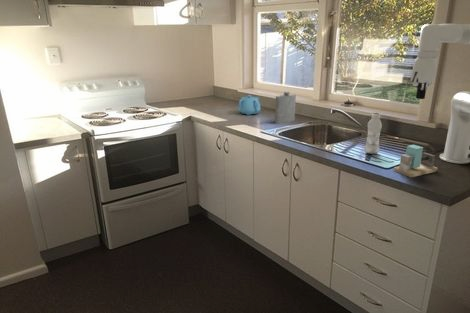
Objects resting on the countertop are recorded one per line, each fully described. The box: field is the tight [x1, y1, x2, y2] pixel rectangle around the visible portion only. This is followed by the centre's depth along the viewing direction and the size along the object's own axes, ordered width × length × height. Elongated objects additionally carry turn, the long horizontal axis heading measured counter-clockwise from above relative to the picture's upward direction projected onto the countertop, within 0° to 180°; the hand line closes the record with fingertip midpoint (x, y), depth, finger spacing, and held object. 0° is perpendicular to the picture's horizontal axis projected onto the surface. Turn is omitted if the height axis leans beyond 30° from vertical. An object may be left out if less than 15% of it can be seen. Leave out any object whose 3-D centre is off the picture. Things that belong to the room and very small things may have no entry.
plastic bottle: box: [364, 112, 383, 155], centre depth 178 cm, size 6×7×20 cm
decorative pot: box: [237, 94, 261, 116], centre depth 267 cm, size 16×16×14 cm
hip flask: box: [274, 91, 297, 124], centre depth 241 cm, size 16×4×20 cm, turn 123°
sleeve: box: [405, 144, 424, 168], centre depth 155 cm, size 4×5×9 cm
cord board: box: [392, 152, 438, 178], centre depth 157 cm, size 16×9×8 cm, turn 116°
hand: (420, 98), depth 161 cm, fingers closed
